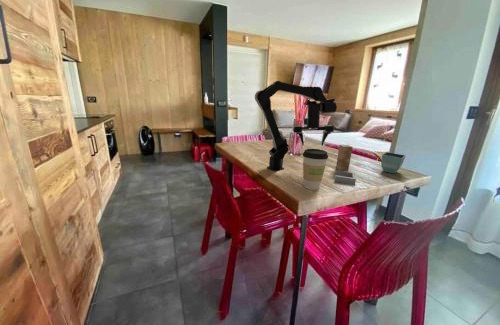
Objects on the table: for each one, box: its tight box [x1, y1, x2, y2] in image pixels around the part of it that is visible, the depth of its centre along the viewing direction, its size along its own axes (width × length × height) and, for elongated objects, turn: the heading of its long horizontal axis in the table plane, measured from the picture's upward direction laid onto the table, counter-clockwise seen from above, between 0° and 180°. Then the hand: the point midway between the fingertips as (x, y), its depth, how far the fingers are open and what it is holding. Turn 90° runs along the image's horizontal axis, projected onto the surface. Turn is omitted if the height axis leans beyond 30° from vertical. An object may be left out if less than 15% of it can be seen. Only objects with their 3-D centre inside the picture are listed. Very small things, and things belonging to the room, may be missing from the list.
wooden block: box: [335, 144, 353, 172], centre depth 109 cm, size 4×4×13 cm
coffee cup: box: [302, 148, 329, 191], centre depth 87 cm, size 10×10×15 cm
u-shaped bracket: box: [334, 169, 357, 185], centre depth 98 cm, size 8×9×2 cm
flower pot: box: [381, 151, 406, 174], centre depth 110 cm, size 9×9×9 cm
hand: (312, 145), depth 110 cm, fingers open, 9 cm apart
